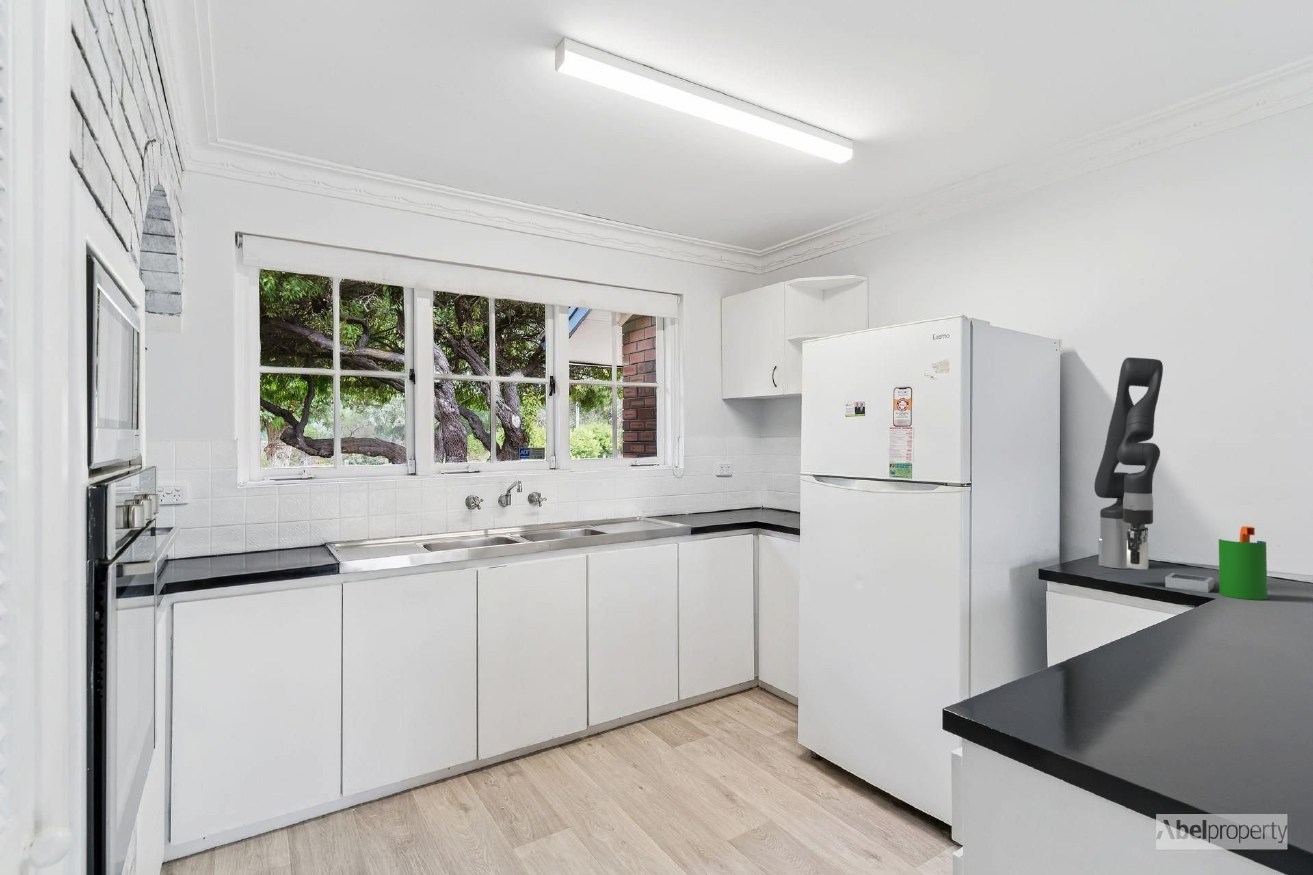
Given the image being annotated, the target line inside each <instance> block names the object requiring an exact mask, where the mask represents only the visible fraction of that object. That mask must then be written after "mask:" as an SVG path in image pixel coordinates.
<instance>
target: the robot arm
mask: <svg viewBox="0 0 1313 875" xmlns="http://www.w3.org/2000/svg"><path fill="white" fill-rule="evenodd" d="M1163 373H1164V365H1163V362H1162V360H1160V359H1157V358H1146V357H1125V359H1124V360H1123V361H1122V364H1121V367H1120V371H1119V376H1118V377H1119V378H1118V384H1117V390H1116V396H1115V402H1114V407H1113V411H1112V415H1111V418H1110V422H1109V427H1108V430H1107V435H1106V436H1107V437H1106V440H1105V445H1104V451H1103V454H1102V458H1101V460H1100V464H1099V466H1098V470H1097V472H1096V476H1095V479H1094V487H1093V488H1094V492H1095V495H1096V496H1097V497H1098V498H1102V499H1116V501H1115V503H1113V504H1111V505H1109V506H1106V507H1103V508H1101V509H1100V510H1099V512H1100V513H1099V518H1100V520H1099V522H1100V525H1099V527H1100V530H1099V532H1100V533H1099V534H1100V538H1098V566H1101V567H1104V568H1105V567H1106V568H1114V569H1124V570H1126V569H1130V568H1129V567H1127V540H1128V550H1130V563H1131V564H1139V563H1140V546H1141V545H1142V544H1143V539H1144V541H1146V542H1148V534H1149V533H1148V532H1149V528H1148V527H1146V525H1152V524H1153V523H1154V497H1153V480H1154V474H1155V471H1156V467H1157V465H1158V462H1159V460H1160V456H1161V450H1160V447H1159V446H1158V445H1157V444H1156V443H1153V442H1146V441H1149V440H1151V439H1152V438H1153V436H1154V434H1155V433H1154V432H1155V414H1156V408H1157V404H1158V400H1159V394H1160V391H1161V386H1162V382H1163V381H1162V380H1163ZM1131 386H1132V387H1140V388H1141V387H1143V388H1147V390H1146V392H1145V394H1143V396H1142V397H1141V398H1140V399H1139V400H1138V401H1137V402H1136V403H1135V404H1134V402H1133V400H1132V397H1131V394H1130V387H1131ZM1119 463H1120V464H1121V465H1124V466H1136V467H1137V466H1139V467H1140V466H1142V467H1143V466H1144V469H1143V470H1142V471H1138V472H1131V473H1129V472H1121V471H1115V470H1116V469H1117V467H1118V465H1119ZM1133 544H1135V545H1136V546H1133Z"/></svg>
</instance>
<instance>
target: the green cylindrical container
mask: <svg viewBox="0 0 1313 875" xmlns="http://www.w3.org/2000/svg"><path fill="white" fill-rule="evenodd" d="M1255 529H1256V528H1255V527H1254V526H1248V525H1247V526H1246V525H1245V526H1243V525H1242V526H1241V528H1240V531H1239V532H1240V533H1239V541H1235V540H1234V541H1233V540H1232V541H1231V540H1226V539H1225V540H1224V539H1221V538H1218V570H1219V571H1218V573H1219V574H1218V575H1219V577H1218V578H1219V580H1218V581H1219V583H1218V585H1219V594H1220V595H1222V596H1225V597H1230V598H1235V599H1243V600H1254V601H1255V600H1257V601H1261V600H1264V601H1265V600H1268V574H1267V573H1268V572H1267V571H1268V570H1267V569H1268V566H1267V565H1268V564H1267V560H1268V559H1267V542H1266V541H1262V540H1257V541H1256V542H1251V540H1250V539H1251V536H1255V534H1256V532H1255Z"/></svg>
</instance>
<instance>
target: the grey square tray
mask: <svg viewBox="0 0 1313 875" xmlns="http://www.w3.org/2000/svg"><path fill="white" fill-rule="evenodd" d="M1164 578H1165V580H1164V583H1165V586H1164V587H1165V588H1169V589H1177V590H1185V591H1193V592H1201V593H1209V592H1211V591H1212V590H1213V589H1214V587H1215V586H1214V585H1215V583H1214V582H1215V581H1214V577H1211V576H1201V575H1193V574H1185V573H1177V572H1171V573H1170V574H1168V575H1166V576H1165V577H1164Z"/></svg>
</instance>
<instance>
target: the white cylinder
mask: <svg viewBox="0 0 1313 875" xmlns="http://www.w3.org/2000/svg"><path fill="white" fill-rule="evenodd" d="M1149 544H1150V543H1149V542H1148V541H1147V542H1146V541H1144V538H1143V544H1142V545H1141V546H1140V563H1139V564H1131V563H1130V550H1128V540H1127V567H1129V568H1128V569H1135V570H1148V569H1149ZM1133 546H1136V545H1135V544H1133Z"/></svg>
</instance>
